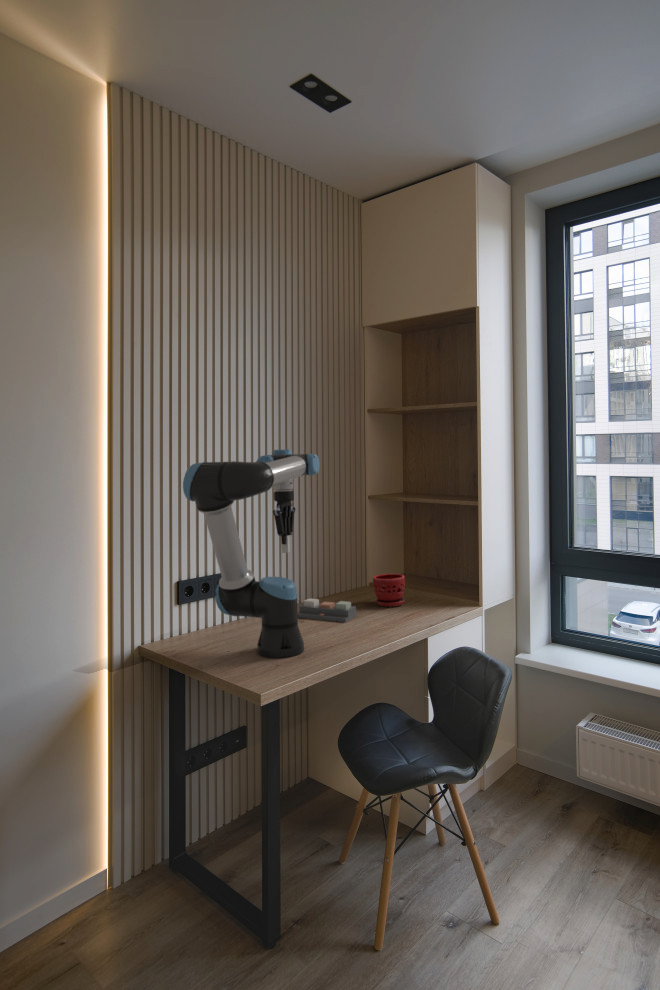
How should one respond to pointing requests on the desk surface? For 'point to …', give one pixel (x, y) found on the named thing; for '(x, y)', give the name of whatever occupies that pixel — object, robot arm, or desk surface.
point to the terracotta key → (327, 605)
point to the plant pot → (389, 589)
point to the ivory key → (311, 602)
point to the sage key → (343, 605)
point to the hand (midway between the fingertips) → (285, 552)
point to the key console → (326, 613)
